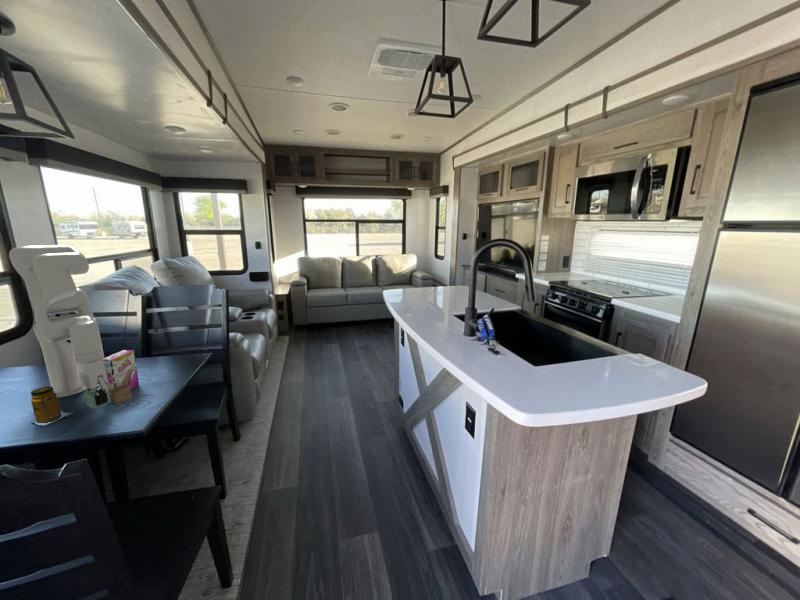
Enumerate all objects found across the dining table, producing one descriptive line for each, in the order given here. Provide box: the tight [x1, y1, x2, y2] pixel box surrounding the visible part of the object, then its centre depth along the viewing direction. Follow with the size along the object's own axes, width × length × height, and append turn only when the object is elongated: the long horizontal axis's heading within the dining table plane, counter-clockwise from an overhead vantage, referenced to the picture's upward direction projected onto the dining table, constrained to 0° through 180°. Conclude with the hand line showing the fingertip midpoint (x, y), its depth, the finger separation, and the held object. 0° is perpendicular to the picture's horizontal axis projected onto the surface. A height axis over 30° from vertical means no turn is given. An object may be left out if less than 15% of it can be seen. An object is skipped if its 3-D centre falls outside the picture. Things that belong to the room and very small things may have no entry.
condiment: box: [30, 385, 74, 423], centre depth 114 cm, size 7×8×12 cm
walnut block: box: [109, 384, 133, 405], centre depth 129 cm, size 5×5×5 cm
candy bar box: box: [102, 349, 140, 396], centre depth 134 cm, size 11×5×16 cm, turn 178°
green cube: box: [83, 387, 112, 410], centre depth 117 cm, size 5×5×5 cm
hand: (98, 401), depth 118 cm, fingers closed on green cube, 4 cm apart
